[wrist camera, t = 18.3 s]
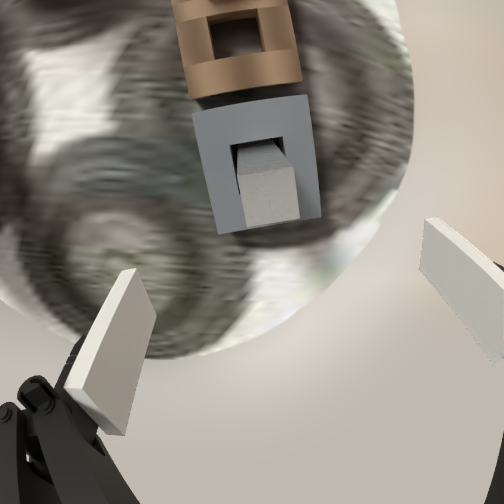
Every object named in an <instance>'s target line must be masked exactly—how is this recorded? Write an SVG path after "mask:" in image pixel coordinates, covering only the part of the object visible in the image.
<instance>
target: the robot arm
mask: <svg viewBox="0 0 504 504" xmlns="http://www.w3.org/2000/svg"><path fill="white" fill-rule="evenodd" d="M419 270H420V271H421V272H422V274H423V275H424V276H425V277H426V278H427V279H428V281H429V282H430V283H431V284H432V285H433V286H434V288H435V289H436V290H437V291H438V293H439V294H440V295H441V296H442V297H443V299H444V300H445V301H446V302H447V304H448V305H449V306H450V307H451V309H452V310H453V311H454V312H455V314H456V315H457V316H458V317H459V319H460V320H461V321H462V323H463V324H464V325H465V327H466V328H467V329H468V331H469V332H470V333H471V335H472V336H473V337H474V339H475V340H476V341H477V343H478V344H479V346H480V347H481V349H482V350H483V351H484V353H485V354H486V356H487V357H488V359H489V360H490V362H491V363H492V364H493V363H495V362H497V361H499V360H501V359H502V358H504V267H503V266H501V265H499V264H497V263H495V262H492V261H491V260H490V259H489V258H487V257H486V256H485V255H484V254H483V253H482V252H481V251H479V250H478V249H477V248H476V247H475V246H473V245H472V244H471V243H470V242H469V241H467V240H466V239H465V238H464V237H462V236H461V235H460V234H459V233H457V232H456V231H455V230H454V229H452V228H451V227H450V226H448V225H447V224H446V223H444V222H443V221H442V220H441V219H439V218H438V217H434V218H428V219H425V220H424V232H423V243H422V251H421V260H420V267H419ZM156 317H157V316H156V313H155V311H154V309H153V307H152V304H151V302H150V300H149V297H148V295H147V292H146V290H145V288H144V285H143V283H142V280H141V278H140V275H139V273H138V270H137V268H135V269H129V270H123V271H121V273H120V275H119V277H118V278H117V280H116V282H115V284H114V286H113V287H112V289H111V291H110V293H109V295H108V296H107V298H106V300H105V302H104V304H103V306H102V308H101V310H100V311H99V313H98V315H97V317H96V319H95V321H94V323H93V325H92V327H91V329H90V331H89V333H88V335H83V336H82V337H81V338H80V339H79V340H78V342H77V343H76V344H75V345H74V347H73V349H72V351H71V353H70V357H68V359H67V361H66V365H65V366H64V368H63V370H62V372H61V374H60V376H59V379H58V381H57V383H56V385H55V387H54V389H53V387H52V386H51V385H50V384H49V383H48V382H47V380H46V379H45V378H44V377H42V376H40V375H38V376H33V377H30V378H28V379H27V380H26V381H25V382H24V383H23V384H22V385H21V387H20V388H19V391H18V394H17V399H18V400H19V402H20V403H21V404H22V405H23V406H24V407H25V408H26V409H25V410H20V409H19V408H18V407H17V406H16V405H15V404H14V403H12V402H6V403H4V404H3V405H1V406H0V504H140V503H139V501H138V500H137V499H136V497H135V496H134V494H133V493H132V491H131V490H130V488H129V486H128V485H127V483H126V482H125V480H124V479H123V477H122V475H121V474H120V472H119V470H118V469H117V467H116V465H115V464H114V462H113V460H112V459H111V457H110V455H109V453H108V451H107V450H106V448H105V446H104V444H103V442H102V441H101V439H100V437H99V436H98V435H97V434H96V432H97V429H98V426H99V427H100V428H101V429H102V430H103V431H104V432H105V433H106V434H108V435H120V436H125V433H126V428H127V424H128V419H129V415H130V411H131V407H132V403H133V399H134V395H135V391H136V387H137V383H138V379H139V375H140V372H141V368H142V365H143V361H144V357H145V354H146V350H147V347H148V343H149V340H150V337H151V333H152V330H153V327H154V323H155V320H156ZM26 454H27V455H29V462H28V461H27V460H26ZM484 504H504V433H503V438H502V443H501V448H500V452H499V456H498V460H497V464H496V468H495V472H494V475H493V478H492V482H491V485H490V488H489V491H488V494H487V497H486V500H485V503H484Z"/></svg>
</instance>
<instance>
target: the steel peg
mask: <svg viewBox="0 0 504 504" xmlns="http://www.w3.org/2000/svg"><path fill="white" fill-rule="evenodd" d="M237 178H238V184H239V189H240V194H241V199H242V204H243V209H244V215H245V220H246V225H247V227H252V226H258V225H264V224H270V223H276V222H282V221H288V220H294V219H300V215H299V206H298V198H297V190H296V182H295V174H294V167H293V165H292V164H291V163H290V162H289V160H288V159H287V158H286V157H285V155H284V154H283V153H282V152H281V151H280V149H279V148H278V147H277V146H276V145H275V143H274V142H273V141H272V140H271V139H268V140H262V141H256V142H250V143H244V144H238V160H237Z"/></svg>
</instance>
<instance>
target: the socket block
mask: <svg viewBox="0 0 504 504" xmlns="http://www.w3.org/2000/svg"><path fill="white" fill-rule="evenodd" d="M171 2H172V7H173V13H174V19H175V24H176V30H177V35H178V41H179V46H180V51H181V57H182V62H183V67H184V72H185V77H186V82H187V87H188V92H189V97H190V100H197V99H201V98H206V97H211V96H216V95H221V94H226V93H231V92H237V91H243V90H249V89H255V88H262V87H269V86H277V85H285V84H294V83H299V82H302V81H303V78H302V72H301V67H300V61H299V55H298V50H297V45H296V40H295V35H294V30H293V25H292V20H291V15H290V11H289V6H288V2H287V0H171ZM248 18H256V23H257V28H258V32H259V38H260V43H261V48H262V52H260V53H253V54H246V55H240V56H234V57H228V58H223V59H217V60H216V56H215V51H214V45H213V40H212V35H211V30H210V25H212V24H217V23H223V22H229V21H235V20H241V19H248Z"/></svg>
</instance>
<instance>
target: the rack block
mask: <svg viewBox="0 0 504 504" xmlns="http://www.w3.org/2000/svg"><path fill="white" fill-rule="evenodd" d="M191 114H192V119H193V124H194V128H195V133H196V138H197V142H198V147H199V152H200V156H201V161H202V165H203V170H204V174H205V179H206V183H207V188H208V192H209V196H210V201H211V205H212V209H213V214H214V218H215V222H216V226H217V231H218V234H224V233H229V232H235V231H241V230H247V229H253V228H258V227H264V226H270V225H276V224H282V223H288V222H294V221H301V220H307V219H313V218H319V217H322V216H321V205H320V194H319V183H318V174H317V164H316V156H315V147H314V139H313V131H312V124H311V117H310V110H309V103H308V97H307V94H304V95H294V96H286V97H278V98H270V99H263V100H256V101H250V102H244V103H238V104H233V105H227V106H222V107H217V108H212V109H207V110H203V111H198V112H194V113H191ZM275 137H278V140H279V147H280V151H281V152H282V153H283V154H284V155H285V157H286V158H287V159H288V160H289V162H290V163H291V164H292V165H293V167H294V174H295V182H296V190H297V198H298V206H299V215H300V219H294V220H288V221H282V222H276V223H270V224H264V225H258V226H252V227H247V225H246V220H245V215H244V209H243V204H242V199H241V194H240V189H239V184H238V178H237V169H236V164H235V159H234V154H233V148H232V145H233V144H238V143H244V142H250V141H256V140H262V139H268V138H275Z"/></svg>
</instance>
